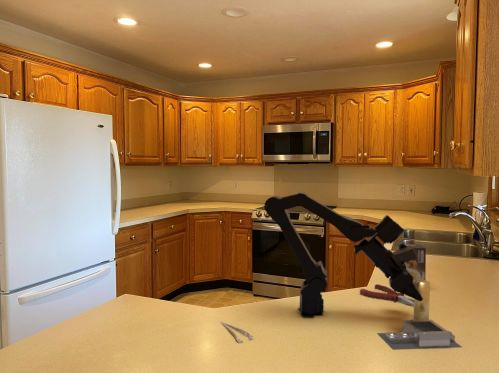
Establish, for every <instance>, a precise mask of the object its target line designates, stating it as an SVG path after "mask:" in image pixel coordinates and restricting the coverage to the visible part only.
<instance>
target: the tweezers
mask: <svg viewBox="0 0 499 373" xmlns="http://www.w3.org/2000/svg"><path fill="white" fill-rule="evenodd" d="M219 323H220V324H221V325H222V326H223V327H224V328H225V329H226V330H227V331H228V332H229V333H230V334H231V335H232V336H233V338H234V339H235V340H236V341H237V342H238V343H239V344H242V343H244V340H243V339H242V340H241V339H240V338H238V336H237V334H236V333H235V332H234V331H233V330H235V331H236V332H238V333H240V334H241V335H242V336H244V337H247V338H248V340H249V341H252V340H254V337H253V335H252V334H251V333H249V332H247V331H246V330H244V329H241V328H239V327H236V326H234V325H231V324H228V323H227V322H223V321H219Z"/></svg>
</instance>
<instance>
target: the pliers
mask: <svg viewBox="0 0 499 373" xmlns="http://www.w3.org/2000/svg"><path fill="white" fill-rule="evenodd" d="M377 289H378V290H377ZM374 290H377V291H371V290H368V289H365V288H360V290H359V294H360V295H362V296H364V297H367V298H370V297H371V298H372V299H375V298H376V299H377V300H382V299H383V300H384V301H389V302H390V301H391V302H393V303H395V304H396V303H397V302H399V303H402V304H404V305H409V306H413V307H414V298H411V297H409V296H408V297H407V296H405V295H404V294H402V293H399V292H395V291H394V290H393V289H392V288H391V287H388V286H385V285H382V284H375V285H374ZM380 290H381V292H379V291H380ZM386 292H387V293H386Z"/></svg>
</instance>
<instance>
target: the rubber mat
mask: <svg viewBox="0 0 499 373" xmlns="http://www.w3.org/2000/svg"><path fill="white" fill-rule="evenodd" d="M386 333H387V332H378V333H376V334H377V335H378V337H379V338H381V339H382V341H384V343H385V344H386V345H387V346H389V348H391V349H392V350H394V351H395V350H398V351H399V350H420V349H421V350H424V349H427V350H429V349H453V348H463V345H462V346H461V344H459V343H458V342H456V341H455V342H450V347H423V348H419V347H418V346H417V345H416V344H414V343H395V344H391V343H390V342H389V341H388V340H387V339H386Z"/></svg>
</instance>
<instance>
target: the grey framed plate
mask: <svg viewBox="0 0 499 373" xmlns="http://www.w3.org/2000/svg"><path fill="white" fill-rule="evenodd" d="M385 333H386V339H387V340H388V341H389V342H390V343H391V344H395V343H414V344H416V345H417V346H418V347H419V348H423V347H450V342H456V339H455V338H456V336H455V334H453V332H452V331H450V330H447V329H446V328H444V327H443V326H441V325H440V324H439V323H437V322H435V321H434V320H432V319H429V320H414V319H409V320H402V331H397V332H396V331H393V332H391V331H389V332H385Z"/></svg>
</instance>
